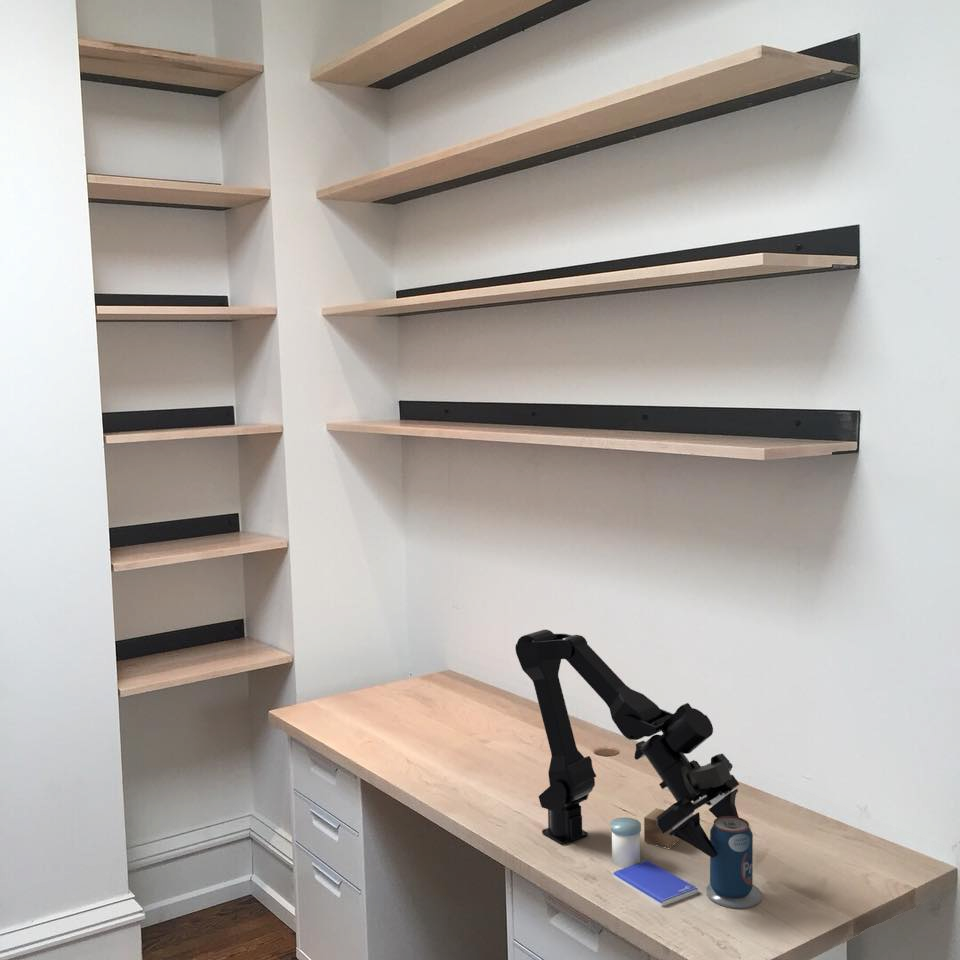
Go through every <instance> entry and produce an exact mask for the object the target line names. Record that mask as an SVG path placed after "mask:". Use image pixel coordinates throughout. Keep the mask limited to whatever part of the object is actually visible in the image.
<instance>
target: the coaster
mask: <svg viewBox="0 0 960 960" xmlns="http://www.w3.org/2000/svg"><path fill="white" fill-rule="evenodd" d="M762 894H763V893H762V891H761V890H760V889H759V887H758V886H756V885H755V884H753V887H752V890H751V891H750V893H749V894H748V896H747V897H746V898H744V899H741V900H728V899H724V898H721V897H719V896H718V895H716V894H715V892H714V890H713V889H712V887H711V885H710V883H708V885H707V886H706V896H707V898H708V899H709V900H710V901H711V902H712V903H714V904H716V905H718V906H720V907H724V908H728V909H735V910H738V909H739V910H741V909H742V910H743V909H750V908H753V907H756V906H758V905H760V903H761V901H762V897H763V896H762Z"/></svg>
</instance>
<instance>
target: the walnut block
mask: <svg viewBox="0 0 960 960" xmlns="http://www.w3.org/2000/svg"><path fill="white" fill-rule="evenodd" d="M665 810H666V809H665ZM665 810H664V809H661V808H657V807H656V808H654V809H653V810H652V811H651V812H649V813H648V814H647V815H646V816H644V817H643V818H644V819H643V820H644V821H643V823H644V824H643V827H644V828H643V831H644V833H643V835H644V837H643V839H644V842H647V843H651V844H654V845H653V846H655V845H658V846H661V847H660V848H662V847H666V848H670V847H671V846H672V845H673V844H674V843H676V842H677V841H678V840H679V838H678V837H676V836H674V835H672V836H670V835H669V833H670V832H672V831H673V828H672V829H671V830H669V831H668V832H666V833H665V834H663V833H662V832H661V830H660V829H659V828H658V826H657V817H658V816H659V815H660V814H661V813H663V812H664V811H665ZM679 841H680V840H679ZM679 841H678V842H679ZM644 842H643V843H644ZM678 842H677V843H678ZM647 843H646V844H647ZM677 843H676V844H677ZM651 844H650V845H651ZM674 845H675V844H674ZM674 845H673V846H674ZM658 846H657V847H658ZM673 846H672V847H673ZM672 847H671V848H672ZM666 848H665V849H666ZM671 848H670V849H671Z"/></svg>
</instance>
